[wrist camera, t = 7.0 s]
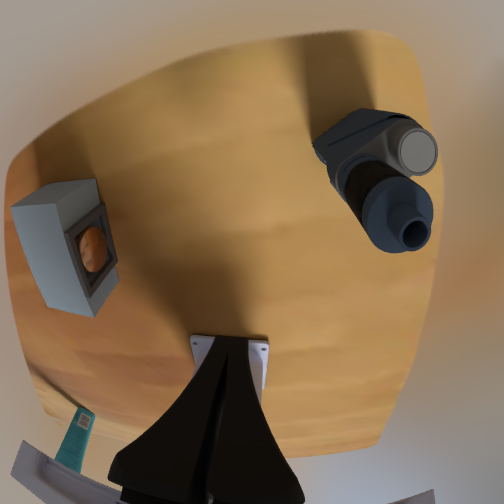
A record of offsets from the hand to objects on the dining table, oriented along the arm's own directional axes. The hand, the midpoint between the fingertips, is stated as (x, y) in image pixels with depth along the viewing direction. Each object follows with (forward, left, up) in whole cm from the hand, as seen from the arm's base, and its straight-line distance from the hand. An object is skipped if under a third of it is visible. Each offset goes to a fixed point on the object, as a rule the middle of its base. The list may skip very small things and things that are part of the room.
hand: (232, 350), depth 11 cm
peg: (0, +15, -10) cm, 18 cm away
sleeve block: (0, +15, -10) cm, 19 cm away
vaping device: (+8, -6, -11) cm, 15 cm away
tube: (-49, +39, -11) cm, 64 cm away
